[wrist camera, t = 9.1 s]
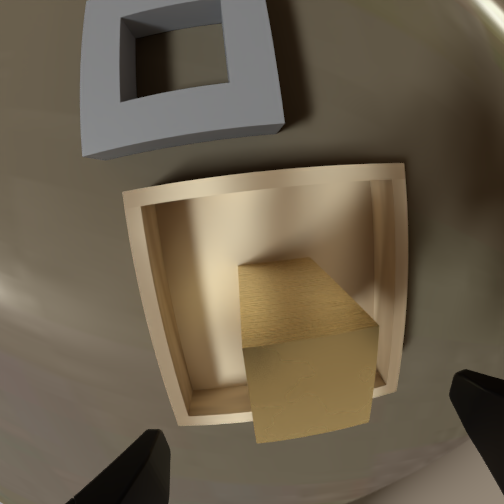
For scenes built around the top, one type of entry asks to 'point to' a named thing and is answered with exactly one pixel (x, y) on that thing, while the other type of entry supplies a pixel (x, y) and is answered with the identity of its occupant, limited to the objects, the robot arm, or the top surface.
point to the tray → (259, 251)
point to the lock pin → (304, 350)
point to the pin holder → (179, 101)
